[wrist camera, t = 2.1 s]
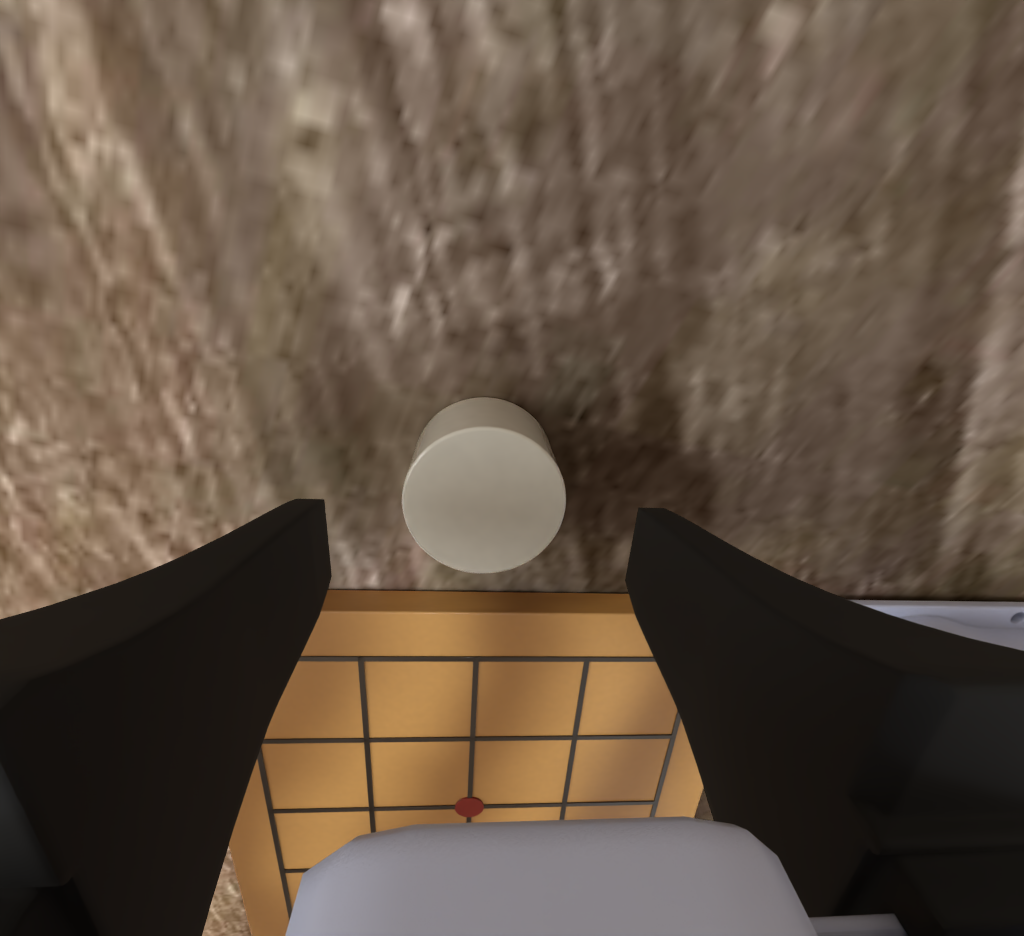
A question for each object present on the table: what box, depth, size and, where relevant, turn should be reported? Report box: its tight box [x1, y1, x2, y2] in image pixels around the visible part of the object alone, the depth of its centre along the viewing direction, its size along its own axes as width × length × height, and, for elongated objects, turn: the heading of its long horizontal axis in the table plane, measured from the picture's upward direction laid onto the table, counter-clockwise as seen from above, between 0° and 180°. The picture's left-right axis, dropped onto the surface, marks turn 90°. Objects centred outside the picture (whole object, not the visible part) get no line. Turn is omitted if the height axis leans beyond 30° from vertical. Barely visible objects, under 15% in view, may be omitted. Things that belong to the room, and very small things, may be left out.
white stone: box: [402, 397, 566, 574], centre depth 14 cm, size 4×4×3 cm
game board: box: [229, 590, 704, 936], centre depth 21 cm, size 20×20×1 cm
